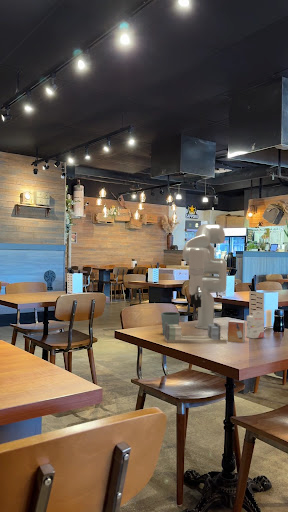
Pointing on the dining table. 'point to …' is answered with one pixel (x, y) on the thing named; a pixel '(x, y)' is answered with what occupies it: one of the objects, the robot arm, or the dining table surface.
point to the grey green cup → (169, 319)
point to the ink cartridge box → (255, 325)
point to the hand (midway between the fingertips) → (195, 305)
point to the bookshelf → (175, 336)
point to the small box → (236, 331)
